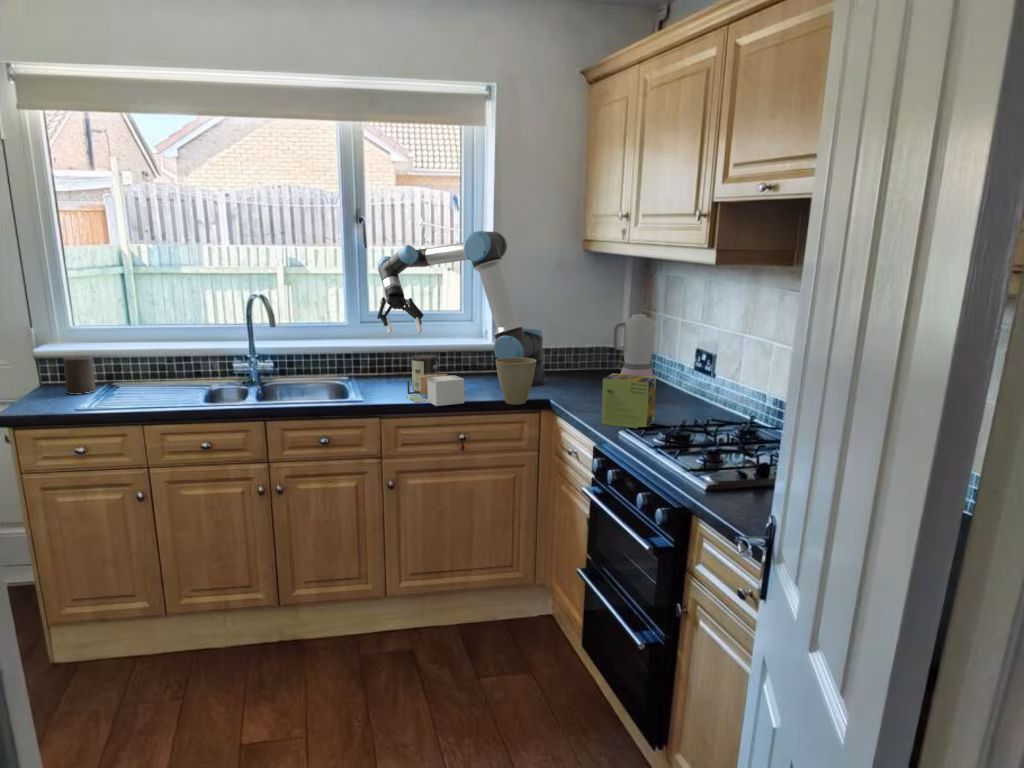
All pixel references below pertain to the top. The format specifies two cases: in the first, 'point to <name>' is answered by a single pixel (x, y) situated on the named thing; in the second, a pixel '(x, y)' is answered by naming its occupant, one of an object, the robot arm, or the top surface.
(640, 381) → the protein box
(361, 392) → the top surface
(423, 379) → the gauge plunger
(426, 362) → the coffee can
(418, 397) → the gauge frame
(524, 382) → the plant pot
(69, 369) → the pillar candle
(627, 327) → the blender
